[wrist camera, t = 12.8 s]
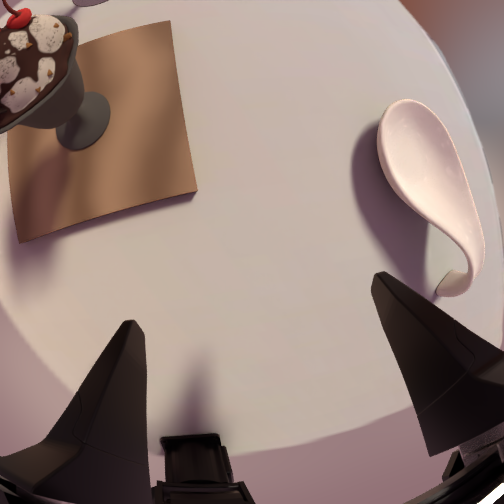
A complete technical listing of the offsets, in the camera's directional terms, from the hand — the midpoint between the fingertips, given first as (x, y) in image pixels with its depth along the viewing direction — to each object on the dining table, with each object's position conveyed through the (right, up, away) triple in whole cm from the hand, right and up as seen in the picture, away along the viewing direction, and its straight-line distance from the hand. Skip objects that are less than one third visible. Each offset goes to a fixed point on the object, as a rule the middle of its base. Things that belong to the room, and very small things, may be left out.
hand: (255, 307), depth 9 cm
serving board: (-13, +12, +7) cm, 20 cm away
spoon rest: (+19, +7, +17) cm, 26 cm away
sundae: (-13, +12, +7) cm, 19 cm away
